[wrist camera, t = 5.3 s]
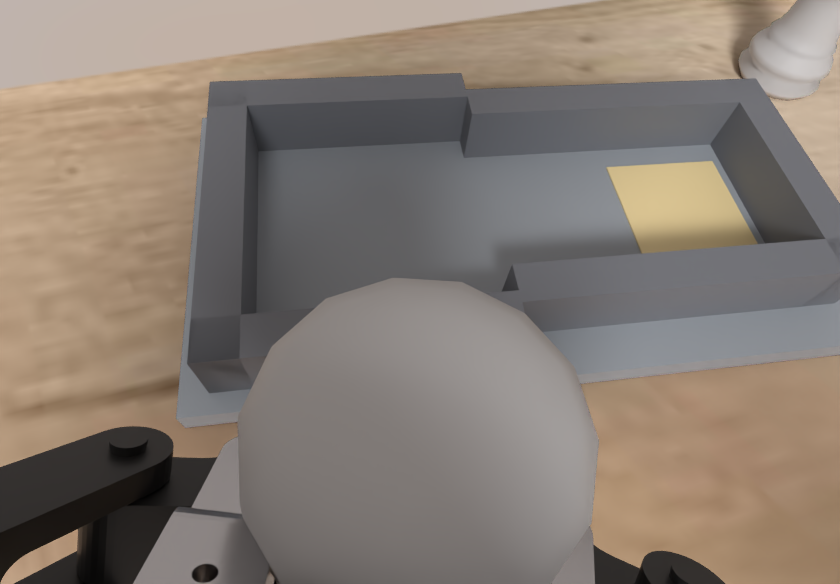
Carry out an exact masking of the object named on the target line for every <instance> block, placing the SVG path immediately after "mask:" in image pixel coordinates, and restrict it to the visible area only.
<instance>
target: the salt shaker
mask: <svg viewBox="0 0 840 584" xmlns="http://www.w3.org/2000/svg"><path fill="white" fill-rule="evenodd" d="M598 445H599V439H598V436H597V433H596V430H595V427H594V424H593V421H592V418H591V415H590V412H589V409H588V406H587V403H586V400H585V397H584V394H583V391H582V388H581V385H580V382H579V379H578V376H577V373H576V370H575V367H574V366H573V365H572V364H571V363H570V362H569V360H568V359H567V358H566V357H565V356H564V355H563V354H562V353H561V352H560V351H559V350H558V349H557V347H556V346H555V345H554V344H553V343H552V342H551V341H550V340H549V339H548V338H547V337H546V336H545V335H544V333H543V332H542V331H541V330H540V329H539V328H538V327H537V326H536V325H535V324H534V323H533V322H532V320H531V319H530V318H529V317H528V316H527V315H526V314H525V313H523V312H521V311H519V310H517V309H515V308H513V307H511V306H509V305H507V304H505V303H503V302H501V301H499V300H497V299H495V298H493V297H491V296H489V295H487V294H485V293H483V292H481V291H479V290H477V289H475V288H473V287H471V286H469V285H467V284H465V283H463V282H455V281H439V280H423V279H407V278H390V279H387V280H384V281H381V282H377V283H374V284H371V285H368V286H364V287H361V288H358V289H355V290H352V291H348V292H345V293H342V294H339V295H335V296H332V297H329V298H326V299H325V300H324V301H323V302H321V303H320V304H319V305H318V306H317V307H316V308H315V309H314V310H312V311H311V312H310V313H309V314H308V315H307V316H306V317H304V318H303V319H302V320H301V321H300V322H299V323H298V324H296V325H295V326H294V327H293V328H292V329H291V330H290V331H289V332H287V333H286V334H285V335H284V336H283V337H282V338H281V339H279V340H278V341H277V342H276V343H275V344H274V345H273V346H272V347H271V349H270V351H269V353H268V355H267V357H266V359H265V361H264V363H263V365H262V367H261V369H260V371H259V373H258V376H257V378H256V380H255V382H254V384H253V386H252V388H251V390H250V392H249V394H248V396H247V398H246V401H245V403H244V405H243V407H242V409H241V411H240V413H239V415H238V457H239V497H240V507H241V512H242V517H243V519H244V521H245V523H246V525H247V526H248V528H249V530H250V532H251V533H252V535H253V537H254V539H255V540H256V542H257V544H258V546H259V547H260V549H261V551H262V553H263V554H264V556H265V558H266V560H267V561H268V563H269V565H270V571H271V573H272V575H273V577H274V579H275V581H276V583H277V584H551V582H552V581H553V579H554V578H555V576H556V575H557V574H558V572H559V571H560V569H561V568H562V566H563V565H564V563H565V562H566V560H567V559H568V557H569V556H570V554H571V553H572V551H573V550H574V548H575V547H576V545H577V544H578V542H579V541H580V539H581V538H582V536H583V535H584V533H585V532H586V530H587V529H588V527H589V526H590V525H591V522H592V511H593V500H594V489H595V478H596V467H597V456H598Z"/></svg>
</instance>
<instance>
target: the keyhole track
mask: <svg viewBox="0 0 840 584" xmlns="http://www.w3.org/2000/svg"><path fill="white" fill-rule="evenodd" d="M390 278H407V279H423V280H439V281H455V282H463V283H465V284H467V285H469V286H471V287H473V288H475V289H477V290H479V291H481V292H483V293H485V294H487V295H489V296H491V297H493V298H495V299H497V300H499V301H501V302H503V303H505V304H507V305H509V306H511V307H513V308H515V309H517V310H519V311H521V312H523V313H525V314H526V315H527V316H528V317H529V318H530V319H531V320H532V322H533V323H534V324H535V325H536V326H537V327H538V328H539V329H540V330H541V331H542V332H543V333H544V335H545V336H546V337H547V338H548V339H549V340H550V341H551V342H552V343H553V344H554V345H555V346H556V347H557V349H558V350H559V351H560V352H561V353H562V354H563V355H564V356H565V357H566V358H567V359H568V360H569V362H570V363H571V364H572V365H573V366H574V367H575V370H576V373H577V376H578V379H579V382H580V384H583V383H592V382H601V381H610V380H619V379H628V378H637V377H646V376H655V375H664V374H673V373H682V372H691V371H700V370H709V369H718V368H727V367H736V366H745V365H754V364H763V363H771V362H780V361H789V360H798V359H807V358H816V357H825V356H834V355H840V203H839V202H838V200H837V199H836V197H835V196H834V194H833V193H832V191H831V190H830V188H829V187H828V185H827V184H826V182H825V181H824V179H823V178H822V176H821V175H820V173H819V172H818V170H817V169H816V167H815V166H814V164H813V163H812V161H811V160H810V158H809V157H808V155H807V154H806V152H805V151H804V150H803V148H802V147H801V145H800V144H799V142H798V141H797V139H796V138H795V136H794V135H793V133H792V132H791V130H790V129H789V127H788V126H787V124H786V123H785V121H784V120H783V118H782V117H781V115H780V114H779V112H778V111H777V109H776V108H775V106H774V105H773V103H772V102H771V100H770V99H769V97H768V96H767V94H766V93H765V91H764V90H763V88H762V87H761V85H760V84H759V82H758V81H757V79H756V78H751V79H725V80H699V81H673V82H647V83H621V84H595V85H569V86H543V87H517V88H491V89H465V85H464V81H463V78H462V74H461V73H452V74H423V75H394V76H365V77H336V78H307V79H278V80H249V81H220V82H210V86H209V99H208V111H207V118H202V128H201V139H200V151H199V162H198V174H197V185H196V197H195V208H194V220H193V231H192V243H191V254H190V265H189V277H188V288H187V300H186V311H185V323H184V334H183V346H182V357H181V368H180V380H179V391H178V403H177V414H176V419H177V420H178V421H179V422H180V423H181V424H182V425H183V426H184V427H185V428H188V427H197V426H206V425H215V424H224V423H233V422H238V415H239V413H240V411H241V409H242V407H243V405H244V403H245V401H246V398H247V396H248V394H249V392H250V390H251V388H252V386H253V384H254V382H255V380H256V378H257V376H258V373H259V371H260V369H261V367H262V365H263V363H264V361H265V359H266V357H267V355H268V353H269V351H270V349H271V347H272V346H273V345H274V344H275V343H276V342H277V341H278V340H279V339H281V338H282V337H283V336H284V335H285V334H286V333H287V332H289V331H290V330H291V329H292V328H293V327H294V326H295V325H296V324H298V323H299V322H300V321H301V320H302V319H303V318H304V317H306V316H307V315H308V314H309V313H310V312H311V311H312V310H314V309H315V308H316V307H317V306H318V305H319V304H320V303H321V302H323V301H324V300H325V299H326V298H329V297H332V296H335V295H339V294H342V293H345V292H348V291H352V290H355V289H358V288H361V287H364V286H368V285H371V284H374V283H377V282H381V281H384V280H387V279H390Z"/></svg>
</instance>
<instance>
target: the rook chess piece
mask: <svg viewBox="0 0 840 584" xmlns="http://www.w3.org/2000/svg"><path fill="white" fill-rule="evenodd" d="M839 36H840V0H797V1H796V2H795V4H794V5H793V6H792V7H791V8H790V9H789V11H788V12H787V13H786V14H785V15H783V16H782V17H781V18H780V19H777V20H776V21H774V22H772V24H771V26H769V27H766V28H765V29H763V30H761V31H759V32H758V33H757V34H756V35H755V36H754V37H753V38H752V39H751V42H750V44H749V47H748V48H747V49H745V50H743V51H742V52H741V55H740V57H739V59H738V60H739V69H740V72H741V76H742V78H743V79H751V78H756V79H757V81H758V82H759V84H760V85H761V87H762V88H763V90H764V91H765V93H766V94H767V96H768V97H771V98H774V99H780V100H794V99H800V98H803V97H806V96H809V95H811V94H812V93H813V92H815V91H816V90H818V88H819V84H820V80H822V79H823V78H825V77H826V76H827V75H828V74H829V72H830V70H831V67H832V64H833V60H834V59H833V54H834V53H835V52H836V48H837V45H836V42H837V40H838V38H839Z"/></svg>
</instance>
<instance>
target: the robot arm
mask: <svg viewBox="0 0 840 584" xmlns="http://www.w3.org/2000/svg"><path fill="white" fill-rule="evenodd" d="M76 529H78V545H77V551H76V552H74V553H72V554H70V555H69V556H67V557H65V558H63V559H61V560H59V561H57V562H55V563H53V564H51V565H49V566H47V567H45V568H43V569H41V570H40V571H38V572H36V573H34V574H32V575H30V576H28V577H26V578H24V579H22V580H20V581H18V582H16V583H14V584H277V583H276V581H275V579H274V577H273V575H272V573H271V571H270V565H269V563H268V561H267V560H266V558H265V556H264V554H263V553H262V551H261V549H260V547H259V546H258V544H257V542H256V540H255V539H254V537H253V535H252V533H251V532H250V530H249V528H248V526H247V525H246V523H245V521H244V519H243V517H242V512H241V507H240V497H239V457H238V437H236V438H234V439H232V440H230V441H228V442H227V443H226V444H225V445H224V447H223V448H222V450H221V452H220V454H219V456H218V457H216V458H179V457H173V441H172V439H171V438H170V437H169V436H168V435H166V434H165V433H163V432H161V431H159V430H156V429H152V428H147V427H134V426H133V427H121V428H115V429H110V430H107V431H104V432H101V433H98V434H95V435H92V436H89V437H86V438H83V439H80V440H78V441H75V442H72V443H69V444H66V445H63V446H60V447H57V448H55V449H52V450H49V451H46V452H43V453H40V454H37V455H34V456H32V457H29V458H26V459H23V460H20V461H17V462H14V463H11V464H9V465H6V466H3V467H0V582H1V580H2V578H3V576H4V574H5V573H6V571H7V570H8V569H9V568H10V567H11V566H12V565H13V564H14V563H15V562H16V561H17V560H18V559H19V558H21V557H22V556H24V555H25V554H27V553H29V552H31V551H33V550H35V549H37V548H39V547H41V546H43V545H45V544H48V543H50V542H52V541H54V540H56V539H58V538H60V537H62V536H64V535H66V534H68V533H70V532H72V531H74V530H76ZM551 584H725V583H724V582H723V581H722V580H721V579H720V578H719V577H718V576H716V575H715V574H714V573H713V572H711V571H710V570H709V569H707V568H706V567H704V566H703V565H701V564H699V563H698V562H696V561H694V560H692V559H690V558H687V557H685V556H682V555H679V554H676V553H672V552H667V551H655V552H651V553H649V554H647V555H646V556H645V557H644V559H643V561H642V564H641V567H640V568H637V567H635V566H633V565H631V564H628V563H626V562H624V561H622V560H620V559H617V558H615V557H613V556H611V555H609V554H607V553H605V552H604V551H602V550H600V549H599V548H597V547H596V546H594V545H593V533H592V530H591V528H590V526H589V527H588V529H587V530H586V532H585V533H584V535H583V536H582V538H581V539H580V541H579V542H578V544H577V545H576V547H575V548H574V550H573V551H572V553H571V554H570V556H569V557H568V559H567V560H566V562H565V563H564V565H563V566H562V568H561V569H560V571H559V572H558V574H557V575H556V576H555V578H554V579H553V581H552V582H551Z"/></svg>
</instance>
